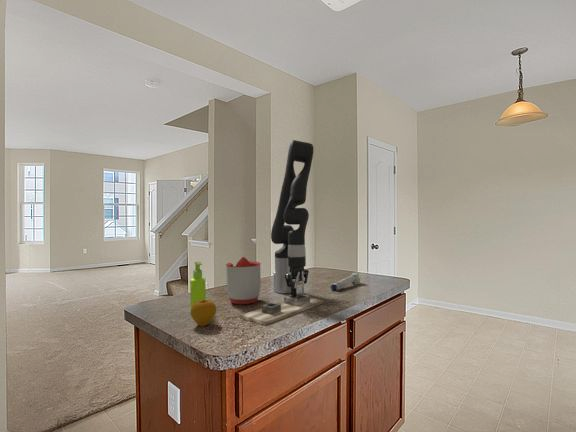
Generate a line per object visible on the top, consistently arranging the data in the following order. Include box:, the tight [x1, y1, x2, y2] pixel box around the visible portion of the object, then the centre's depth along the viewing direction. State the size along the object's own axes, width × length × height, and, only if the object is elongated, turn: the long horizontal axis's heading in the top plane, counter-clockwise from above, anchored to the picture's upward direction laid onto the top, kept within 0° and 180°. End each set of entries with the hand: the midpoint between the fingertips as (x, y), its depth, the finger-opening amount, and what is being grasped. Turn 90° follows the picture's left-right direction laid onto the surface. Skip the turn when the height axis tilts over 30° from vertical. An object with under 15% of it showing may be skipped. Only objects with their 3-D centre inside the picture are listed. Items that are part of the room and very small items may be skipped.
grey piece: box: [330, 272, 361, 292], centre depth 171 cm, size 5×7×25 cm
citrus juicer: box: [225, 256, 262, 306], centre depth 146 cm, size 16×17×20 cm
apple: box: [190, 299, 217, 327], centre depth 114 cm, size 9×9×9 cm
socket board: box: [240, 294, 324, 326], centre depth 131 cm, size 13×36×4 cm, turn 140°
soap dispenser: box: [189, 261, 207, 309], centre depth 130 cm, size 6×7×20 cm
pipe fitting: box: [293, 280, 304, 299], centre depth 137 cm, size 4×4×8 cm
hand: (297, 295), depth 137 cm, fingers closed on pipe fitting, 4 cm apart
